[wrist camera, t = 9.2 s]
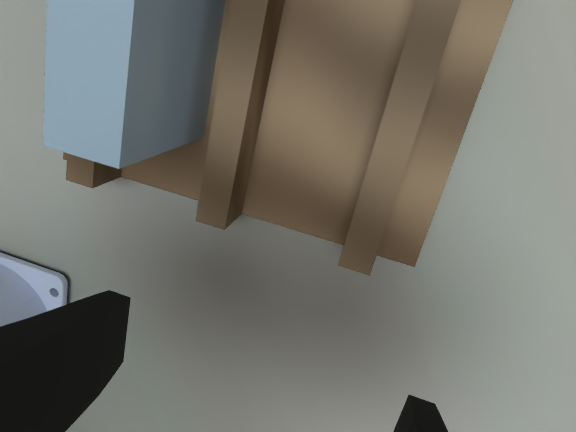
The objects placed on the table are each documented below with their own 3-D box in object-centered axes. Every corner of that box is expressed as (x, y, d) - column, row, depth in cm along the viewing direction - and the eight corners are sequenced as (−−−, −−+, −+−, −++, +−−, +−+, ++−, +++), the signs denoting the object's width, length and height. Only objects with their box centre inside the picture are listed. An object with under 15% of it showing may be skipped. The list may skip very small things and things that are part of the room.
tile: (203, 137, 18) (119, 169, 13) (148, 121, 19) (42, 145, 13) (244, -122, 15) (155, -227, 10) (177, -135, 16) (53, -244, 10)
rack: (413, 256, 19) (415, 289, 16) (77, 154, 21) (29, 168, 19) (573, -179, 14) (617, -241, 11) (101, -254, 16) (37, -320, 13)
